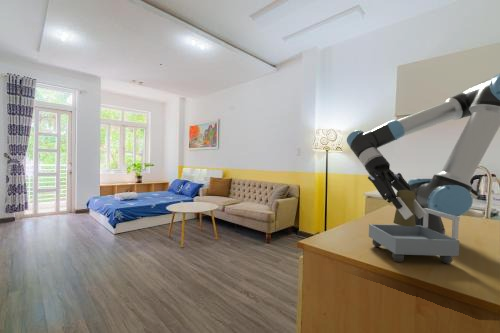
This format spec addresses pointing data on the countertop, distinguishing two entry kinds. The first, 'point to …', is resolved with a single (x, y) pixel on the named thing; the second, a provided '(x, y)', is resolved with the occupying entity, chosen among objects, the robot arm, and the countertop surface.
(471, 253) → the countertop surface
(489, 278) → the countertop surface
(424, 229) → the cart
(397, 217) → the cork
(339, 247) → the countertop surface
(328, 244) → the countertop surface
